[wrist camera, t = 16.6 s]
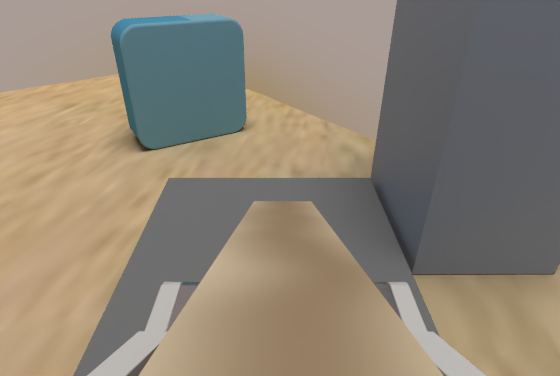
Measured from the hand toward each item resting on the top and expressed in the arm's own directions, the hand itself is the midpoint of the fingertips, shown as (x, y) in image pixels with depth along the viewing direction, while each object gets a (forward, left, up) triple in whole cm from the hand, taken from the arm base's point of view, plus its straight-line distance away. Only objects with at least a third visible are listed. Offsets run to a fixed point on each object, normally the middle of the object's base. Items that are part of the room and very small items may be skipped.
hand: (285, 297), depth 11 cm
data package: (-10, +33, -9) cm, 35 cm away
